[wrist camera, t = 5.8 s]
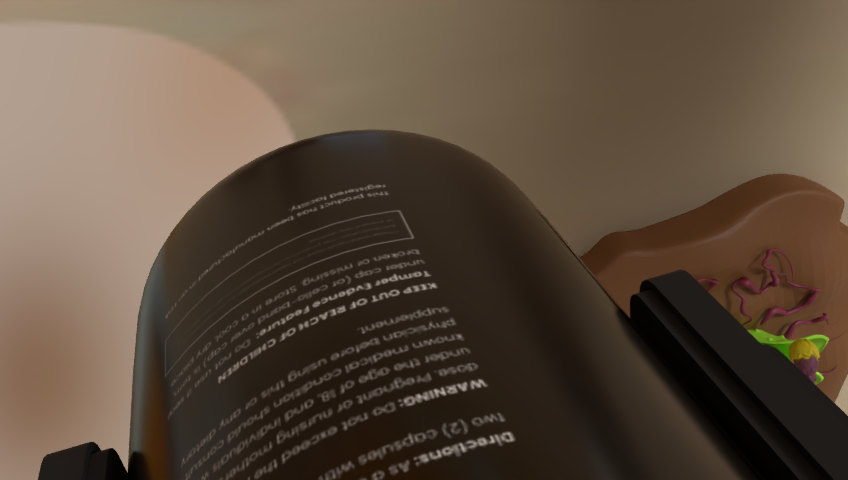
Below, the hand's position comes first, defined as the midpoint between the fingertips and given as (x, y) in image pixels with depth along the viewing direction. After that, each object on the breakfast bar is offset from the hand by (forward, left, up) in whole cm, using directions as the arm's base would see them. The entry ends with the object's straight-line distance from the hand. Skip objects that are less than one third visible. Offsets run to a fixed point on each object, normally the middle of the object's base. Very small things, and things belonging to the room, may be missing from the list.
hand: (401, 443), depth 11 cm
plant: (-19, +24, -24) cm, 39 cm away
